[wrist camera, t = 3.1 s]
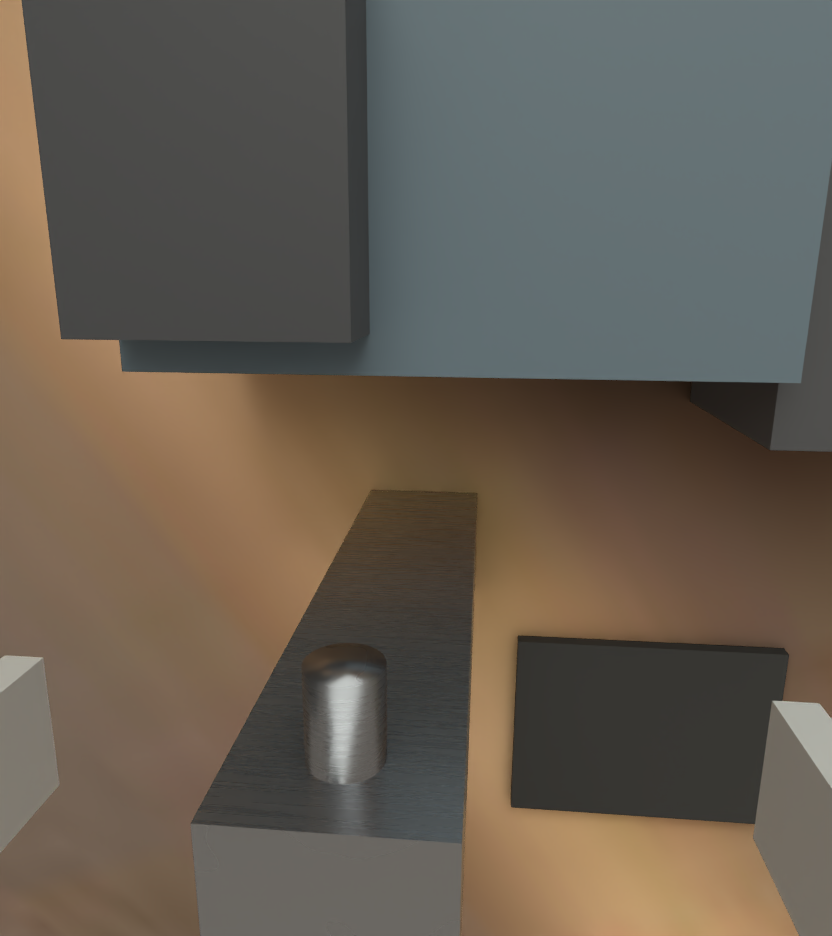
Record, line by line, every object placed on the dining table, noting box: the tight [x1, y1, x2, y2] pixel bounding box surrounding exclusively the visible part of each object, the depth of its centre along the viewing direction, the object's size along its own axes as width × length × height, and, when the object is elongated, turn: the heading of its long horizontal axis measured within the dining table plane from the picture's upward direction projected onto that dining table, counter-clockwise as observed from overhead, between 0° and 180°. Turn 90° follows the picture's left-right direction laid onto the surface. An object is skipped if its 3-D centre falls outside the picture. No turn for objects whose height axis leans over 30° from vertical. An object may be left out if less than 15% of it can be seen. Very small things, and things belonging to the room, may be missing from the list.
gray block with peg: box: [191, 490, 477, 936], centre depth 16 cm, size 3×6×14 cm, turn 0°
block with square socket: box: [22, 0, 832, 452], centre depth 15 cm, size 27×11×9 cm, turn 90°
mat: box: [511, 636, 789, 824], centre depth 23 cm, size 8×6×1 cm
